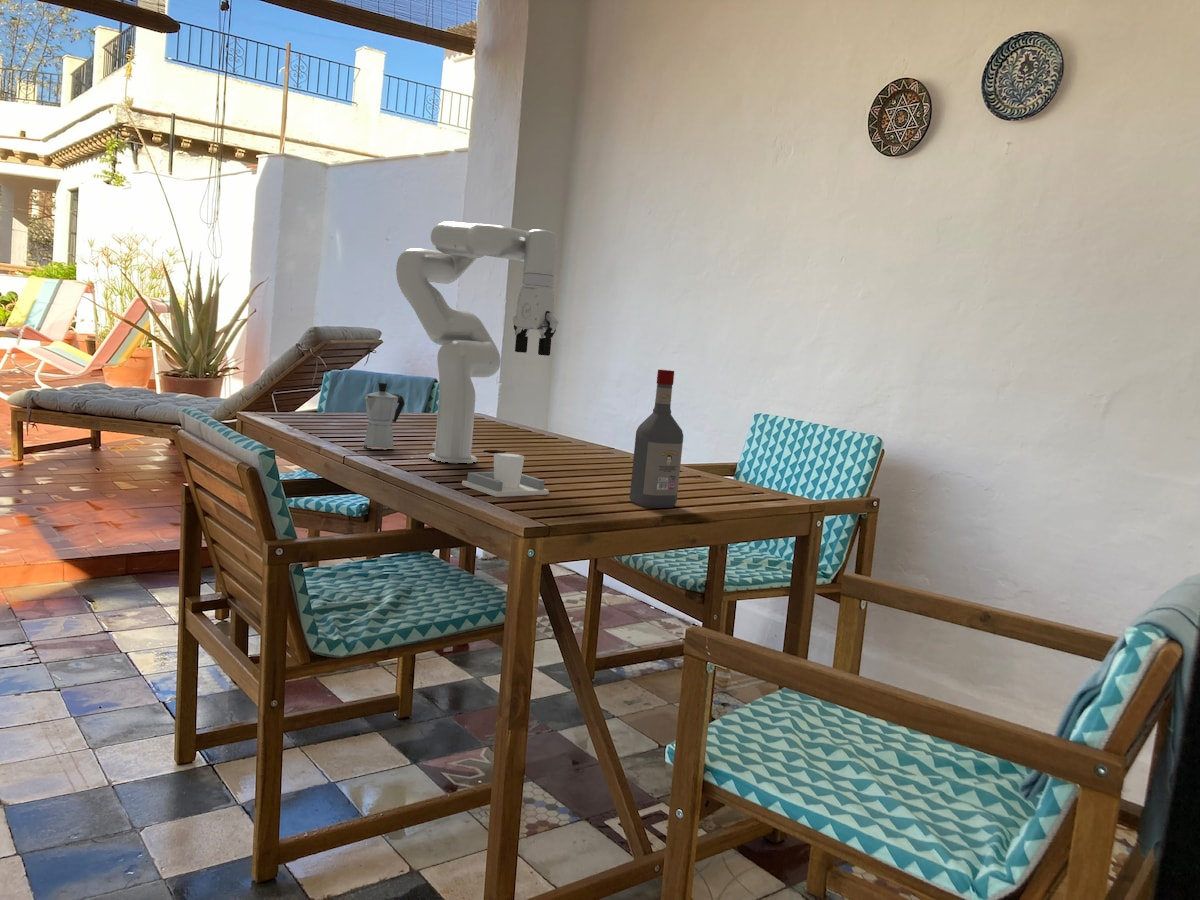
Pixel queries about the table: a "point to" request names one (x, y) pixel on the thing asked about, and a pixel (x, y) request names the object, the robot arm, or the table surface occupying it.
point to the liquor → (657, 452)
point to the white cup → (508, 469)
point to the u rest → (494, 487)
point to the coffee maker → (382, 416)
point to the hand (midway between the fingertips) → (532, 353)
